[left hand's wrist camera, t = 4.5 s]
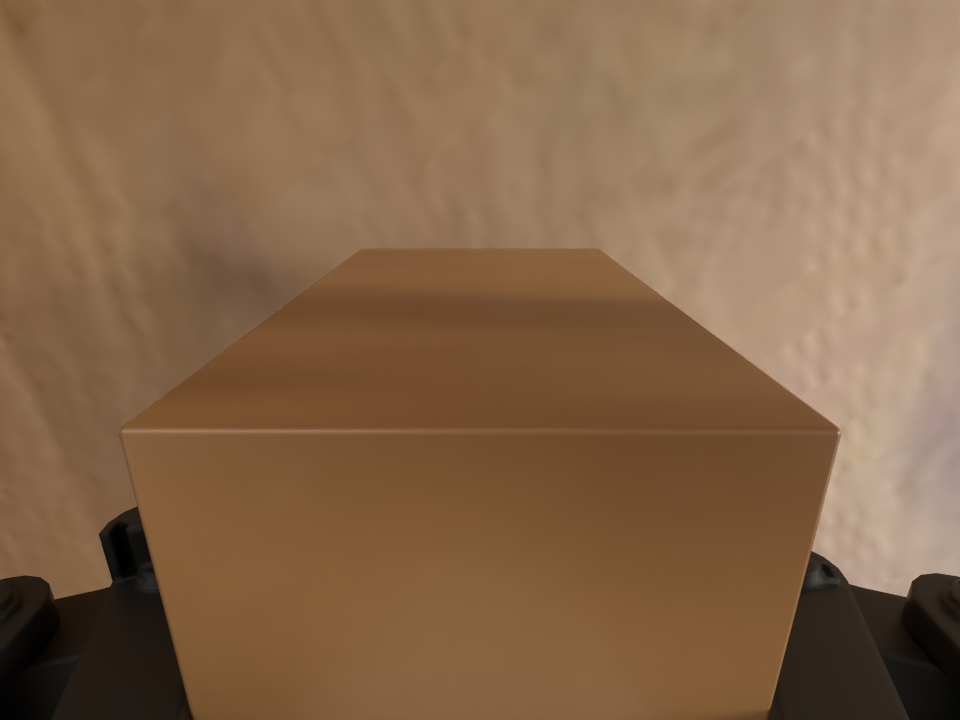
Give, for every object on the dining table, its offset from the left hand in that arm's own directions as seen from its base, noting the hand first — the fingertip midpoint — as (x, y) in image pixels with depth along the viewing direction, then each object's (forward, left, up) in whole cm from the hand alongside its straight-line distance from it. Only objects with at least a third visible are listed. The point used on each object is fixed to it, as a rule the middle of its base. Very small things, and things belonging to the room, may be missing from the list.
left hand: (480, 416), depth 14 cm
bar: (+7, 0, -1) cm, 7 cm away
